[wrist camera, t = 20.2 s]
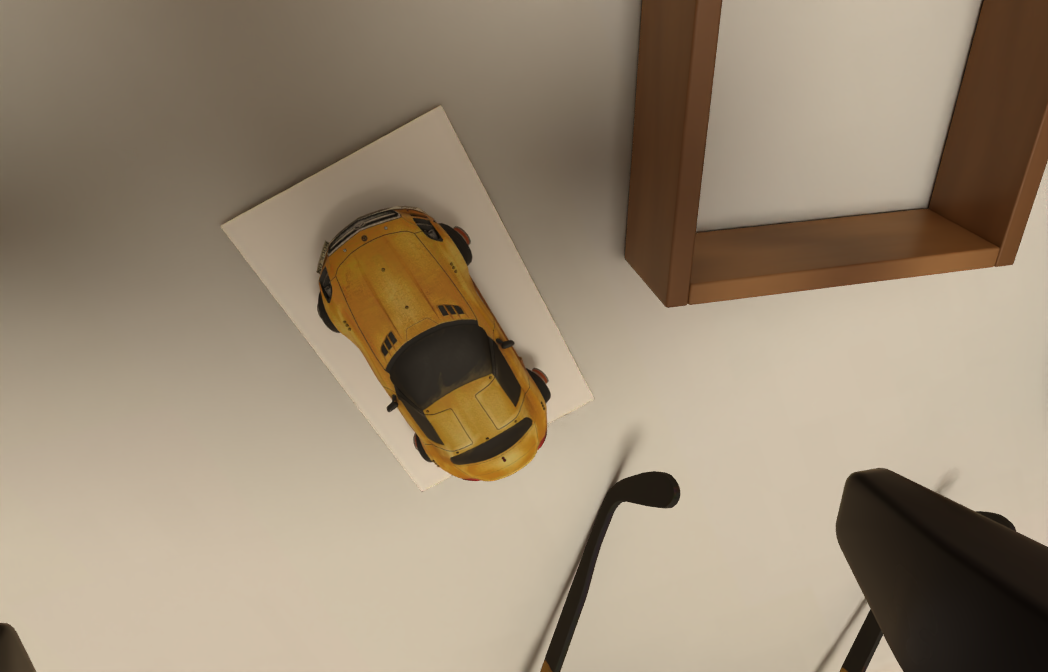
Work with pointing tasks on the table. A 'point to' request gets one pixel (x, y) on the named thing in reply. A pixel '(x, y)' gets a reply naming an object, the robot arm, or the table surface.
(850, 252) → the box
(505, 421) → the toy car
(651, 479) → the sunglasses
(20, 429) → the table surface
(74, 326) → the table surface
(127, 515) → the table surface
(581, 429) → the table surface
